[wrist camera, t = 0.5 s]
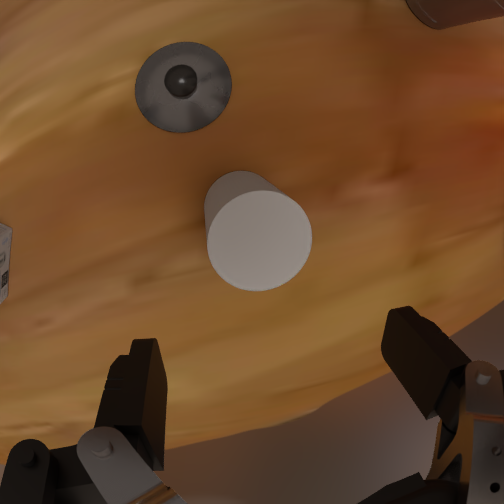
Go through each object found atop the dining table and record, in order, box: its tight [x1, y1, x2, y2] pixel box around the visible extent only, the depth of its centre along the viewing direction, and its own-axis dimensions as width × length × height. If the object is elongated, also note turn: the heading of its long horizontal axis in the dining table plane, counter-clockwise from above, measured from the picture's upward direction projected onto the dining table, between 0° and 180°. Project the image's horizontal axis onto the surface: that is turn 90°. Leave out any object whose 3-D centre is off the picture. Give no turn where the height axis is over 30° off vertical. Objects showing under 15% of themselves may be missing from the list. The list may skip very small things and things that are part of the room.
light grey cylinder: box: [204, 171, 312, 291], centre depth 30 cm, size 8×8×12 cm
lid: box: [135, 42, 232, 132], centre depth 28 cm, size 10×10×5 cm
